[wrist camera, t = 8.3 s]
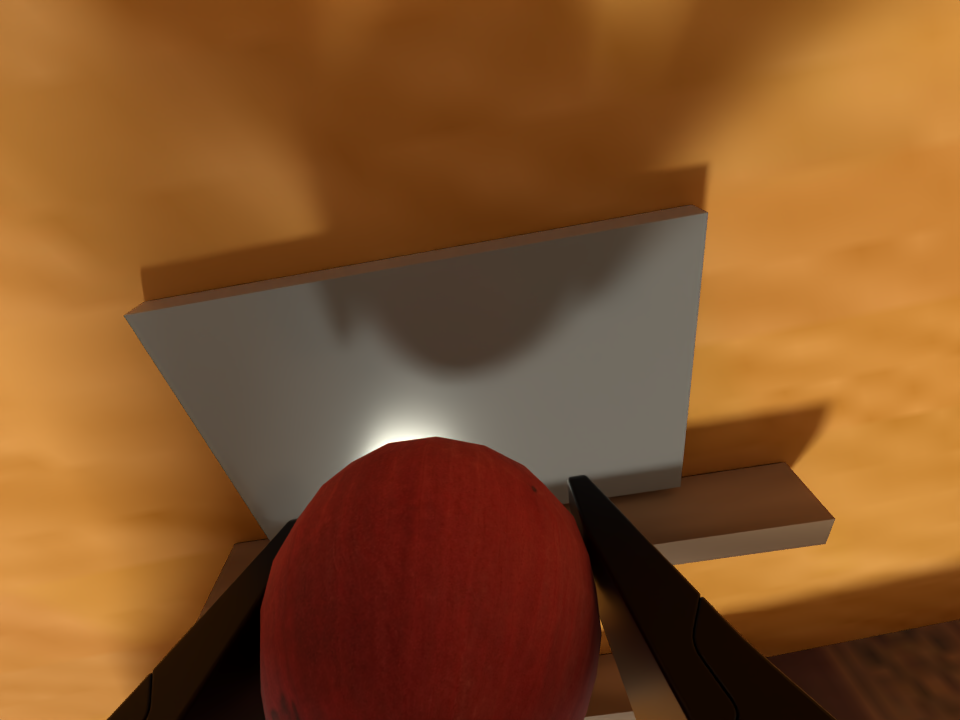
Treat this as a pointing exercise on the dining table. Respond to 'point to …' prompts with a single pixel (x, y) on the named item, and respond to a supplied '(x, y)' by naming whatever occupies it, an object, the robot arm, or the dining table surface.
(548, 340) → the slate board
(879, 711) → the book
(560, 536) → the onion
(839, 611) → the dining table surface
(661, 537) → the rack
